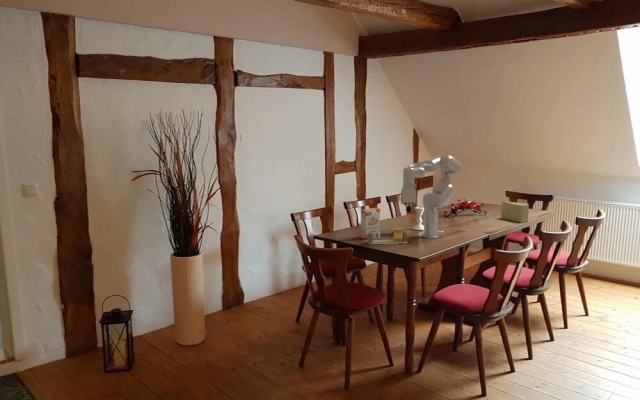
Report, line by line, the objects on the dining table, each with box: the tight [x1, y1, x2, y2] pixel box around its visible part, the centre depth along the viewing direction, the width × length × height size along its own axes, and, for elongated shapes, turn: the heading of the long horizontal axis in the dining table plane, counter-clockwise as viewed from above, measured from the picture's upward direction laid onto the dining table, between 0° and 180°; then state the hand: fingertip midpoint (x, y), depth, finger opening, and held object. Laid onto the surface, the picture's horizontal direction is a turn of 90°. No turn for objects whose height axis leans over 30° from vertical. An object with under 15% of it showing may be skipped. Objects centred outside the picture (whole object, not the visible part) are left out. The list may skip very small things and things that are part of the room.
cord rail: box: [367, 231, 408, 245], centre depth 335 cm, size 26×9×8 cm, turn 96°
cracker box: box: [360, 207, 381, 240], centre depth 351 cm, size 14×6×21 cm, turn 126°
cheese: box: [500, 200, 530, 224], centre depth 399 cm, size 22×10×15 cm, turn 33°
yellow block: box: [391, 226, 404, 241], centre depth 336 cm, size 6×7×8 cm
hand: (408, 212), depth 334 cm, fingers closed
